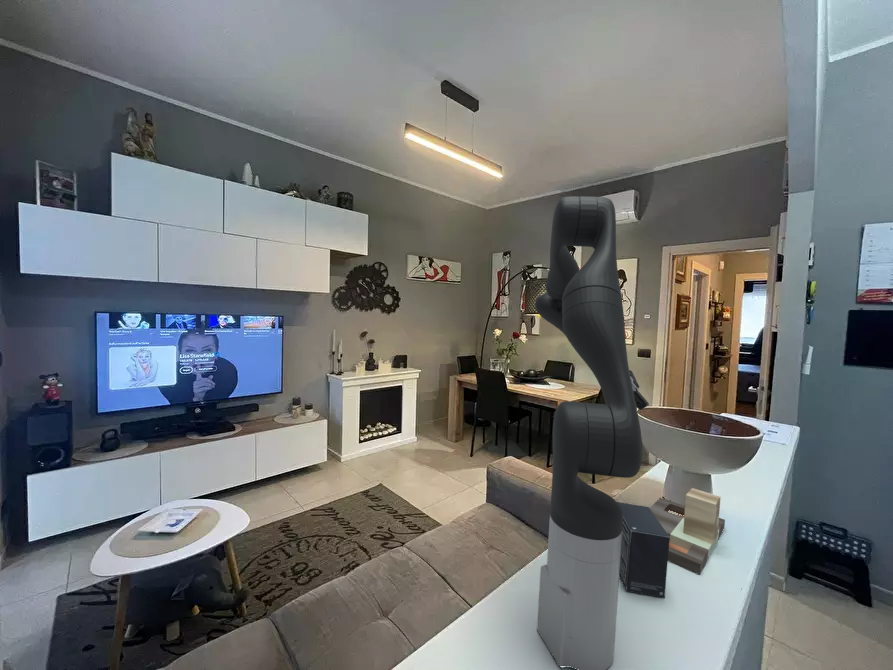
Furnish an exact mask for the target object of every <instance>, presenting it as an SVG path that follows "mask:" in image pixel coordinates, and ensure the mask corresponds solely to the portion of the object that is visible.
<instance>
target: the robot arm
mask: <svg viewBox="0 0 893 670" xmlns="http://www.w3.org/2000/svg"><path fill="white" fill-rule="evenodd" d="M549 247H550V248H549V249H550V250H549V251H550V253H549V270H548V274H547V279H546V282H545V290H546V292H544V293H543V294H541V295H539V296H538V297H537V298H536V299H535V301H534V302H535V303H534V307H535V309H536V312H537V314H539V316H540V317H541V318H542V319H544V320H545V321H546V322H548V323H550V324H551V325H552V326H554V328H557V329H558V330H559V331H561V332H562V334H564V336H565V337H566V339H567V340H568V342H569V343H570V345H571V346H572V348H573V349H574V350H575V352H576V353H577V354H578V356H579V357H580V358H581V359H582V361H584V363H585V364H586V365H587V367H588V369H590V371H591V372H592V374H593V376H594V377H595V379H596V381H597V382H598V384H599V387H600V389H601V392H602V395H603V398H604V402H605V403H593V402H580V401H567V400H566V401H562V402H560V403H559V404H558V405H557V407H556V409H555V411H554V415H553V421H552V422H553V423H552V477H551V495H550V509H549V522H548V523H549V526H548V537H547V539H548V542H547V555H546V556H547V558H546V559H547V561H546V564H542V565H541V566H540V571H539V575H540V576H539V590H538V606H537V607H538V609H537V625H536V630H537V633H538V634H539V635H540V637H541V639H542V641H543V642H544V644H545V645H546V647H547V649H548V650H549V652H550V654H551V653H552V654H553V655H552V654H551V655H552V657H553V656H554V657H553V659H554V658H555V659H556V660H555V659H554V660H555V662H556V661H557V662H558V664H559V665H560V666H571V667H573V668H576V669H579V670H607V669H609V668H610V666H611V665H612V664H613V661H614V657H615V644H616V632H617V631H616V629H617V615H618V614H617V613H618V601H619V600H618V599H619V586H620V585H619V583H620V576H619V572H620V557H621V543H622V528H623V512H622V509H621V507H620V505H619V504H618V503H617V502H618V501H617V500H616V499H614V498H613V497H612V496H610V495H609V494H607V493H606V492H604V491H602V490H599V489H597V488H596V487H593V486H592V485H590V484H588V483H586V482H585V481H584V480H583V479H581V478H580V477H579V476H578V474H579V473H580V474H588V475H589V474H590V475H595V476H596V475H597V476H605V477H606V476H607V477H613V478H624V479H627V478H629V479H630V478H634V477H636V475H637V474H639V471H640V470H641V466H642V461H643V438H642V431H641V424H640V418H639V412H638V410H639V411H641V410H644V409H645V408H647V407H648V406H649V405H650V403H649V402H648V400H646V398H645V397H644V396H643V395H642V393H640V391H639V389H640V385H639V382H638V380H637V379H636V377H635V375H634V373H633V371H632V370H631V369H630V367H629V361H628V352H627V351H628V350H627V342H626V331H625V330H626V329H625V328H626V327H625V313H624V307H623V306H624V304H623V297H622V291H621V284H620V278H619V276H620V275H619V272H618V271H619V270H618V261H617V259H618V258H617V218H616V208H615V205H614V202H613V200H611V198H608V197H604V196H589V195H588V196H583V195H582V196H577V195H576V196H575V195H573V196H571V195H570V196H564V197H561V198H560V199H559V200H558V202H557V204H556V206H555V208H554V213H553V218H552V225H551V234H550V246H549ZM568 247H585V248H586V247H588V248H592V249H593V253H592V254H591V256H590V257H589V259H588V260H587V261H586V262H585V264H584V265H582V267H581V268H580V267H579V264H578V262H577V260H576V258H575V257H574V256H573V254H572V252H571V251H570V250H569V248H568ZM557 662H556V663H557ZM558 664H557V665H558ZM559 665H558V666H559Z"/></svg>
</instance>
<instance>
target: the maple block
mask: <svg viewBox="0 0 893 670" xmlns="http://www.w3.org/2000/svg"><path fill="white" fill-rule="evenodd" d="M721 497H722V496H720V495H716V494H714V493H713V494H712V493H710V492H706V491H703V490H700V489H696V488H690V489H689V491H688V492H687V493H686V494H685V505H684V506H685V514H684V528H683V533H684V534H687V535H690V536H692V537H695V538H697V539H700V540H703V541H705V542H708V543H710V544H713V543H714V541H715V539H716V537H717V535H718V524H719V518H720V510H721V508H720V507H721V499H722V498H721Z"/></svg>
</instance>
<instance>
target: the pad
mask: <svg viewBox="0 0 893 670" xmlns="http://www.w3.org/2000/svg"><path fill="white" fill-rule="evenodd" d="M683 528H684V518H683V519H682V520H681V521H680V523H679V524H678V525H677V526H676V528H675V529H674V530H673V531H672V533H671V534H670V543H672V544H675V545H677V546H680V547H682V548H684V549H687V550H689V549H690V548H691V546H692V545H693V544H696V545H698V546H701V547H703V548H706V549H708V559H709V558H710V557H711V555H712V553H713V550H714V549H715V547H716V545H717V544H718V541H719V540H718V538H719V530H718V535H717V537H716V539H715V541H714V543H713V544H710V543H708V542H705V541H703V540H700V539H697V538H695V537H692V536H690V535H687V534H684V533H683ZM719 539H720V538H719Z"/></svg>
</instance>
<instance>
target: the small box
mask: <svg viewBox="0 0 893 670" xmlns="http://www.w3.org/2000/svg"><path fill="white" fill-rule="evenodd" d="M616 502H617V503H618V504H619V505H620V507H621V509H622V512H623V528H622V543H621V557H620V572H619V579H620V580H621V583H622V585H623V588H624V590H625V591H626V592H630V593H634V594H635V593H636V594H641V595H646V596H651V597H652V596H653V597H656V598H661V599H665V598H666V586H667V585H666V584H667V574H668V562H669V561H668V552H669V541H670V536H669V535H668V534H667V532H666V531H665V529H664V528H663V527H662V525H661V524H660V522H659V521H658V520H657V518H656V517H655V515H654V514H653V512H652V511H651V509H650V507H649V506H646V505H645V506H644V505H637V504H631V503H628V502H627V503H626V502H619V501H616Z"/></svg>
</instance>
